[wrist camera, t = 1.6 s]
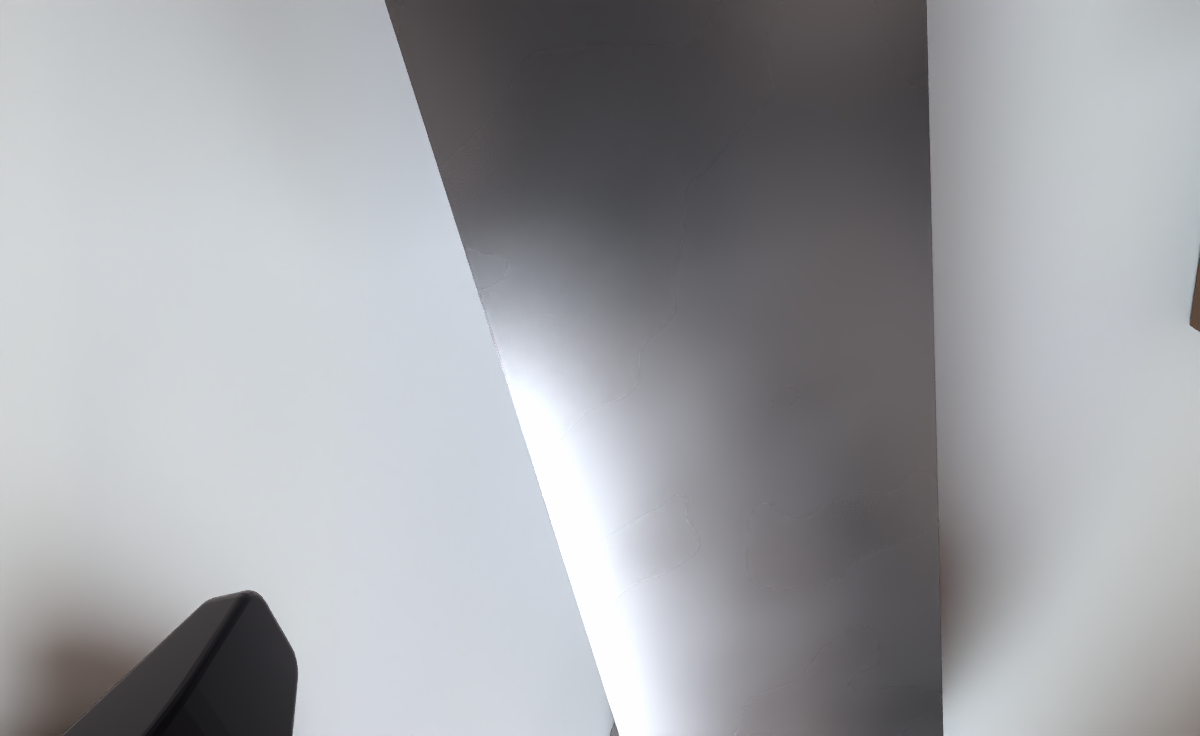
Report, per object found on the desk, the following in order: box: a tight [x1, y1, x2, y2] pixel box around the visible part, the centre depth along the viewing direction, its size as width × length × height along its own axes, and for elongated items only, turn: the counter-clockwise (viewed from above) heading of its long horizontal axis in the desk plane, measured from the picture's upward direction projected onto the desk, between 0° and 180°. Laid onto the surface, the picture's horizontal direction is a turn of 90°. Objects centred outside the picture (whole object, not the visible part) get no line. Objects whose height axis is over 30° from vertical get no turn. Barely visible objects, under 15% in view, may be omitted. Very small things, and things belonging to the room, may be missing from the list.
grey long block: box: [385, 0, 943, 736], centre depth 9 cm, size 24×6×4 cm, turn 12°
